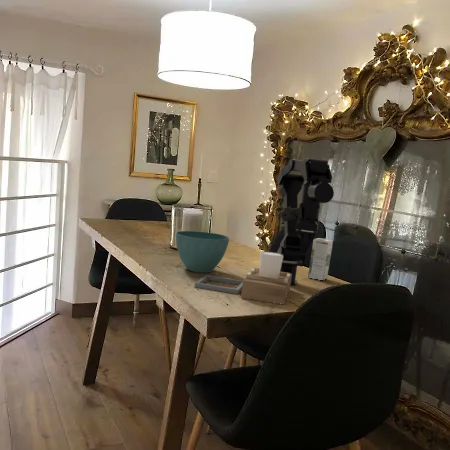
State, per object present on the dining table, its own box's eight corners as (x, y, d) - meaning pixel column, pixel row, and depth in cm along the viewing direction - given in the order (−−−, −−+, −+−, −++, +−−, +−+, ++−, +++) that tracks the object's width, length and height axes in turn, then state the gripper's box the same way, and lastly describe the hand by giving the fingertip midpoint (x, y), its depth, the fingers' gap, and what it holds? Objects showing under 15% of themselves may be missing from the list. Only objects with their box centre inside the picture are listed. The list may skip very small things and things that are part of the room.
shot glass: (284, 280, 141) (287, 256, 140) (261, 279, 139) (264, 255, 138) (275, 274, 148) (278, 252, 147) (254, 273, 146) (257, 250, 145)
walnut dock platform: (252, 283, 155) (254, 265, 154) (289, 289, 152) (292, 271, 152) (240, 297, 135) (243, 276, 135) (283, 304, 133) (286, 283, 132)
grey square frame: (205, 278, 154) (206, 274, 154) (245, 285, 152) (246, 281, 152) (194, 286, 142) (194, 282, 141) (238, 294, 139) (238, 290, 139)
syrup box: (312, 276, 179) (317, 237, 177) (327, 279, 176) (333, 240, 175) (307, 278, 174) (312, 238, 172) (323, 281, 171) (329, 241, 170)
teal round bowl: (177, 274, 155) (181, 236, 154) (168, 262, 173) (172, 228, 171) (231, 277, 160) (235, 241, 159) (217, 265, 178) (221, 232, 177)
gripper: (287, 196, 156) (281, 244, 158) (281, 198, 138) (274, 251, 140) (322, 201, 154) (315, 249, 156) (320, 203, 136) (313, 257, 138)
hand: (304, 251), depth 147 cm, fingers open, 9 cm apart
